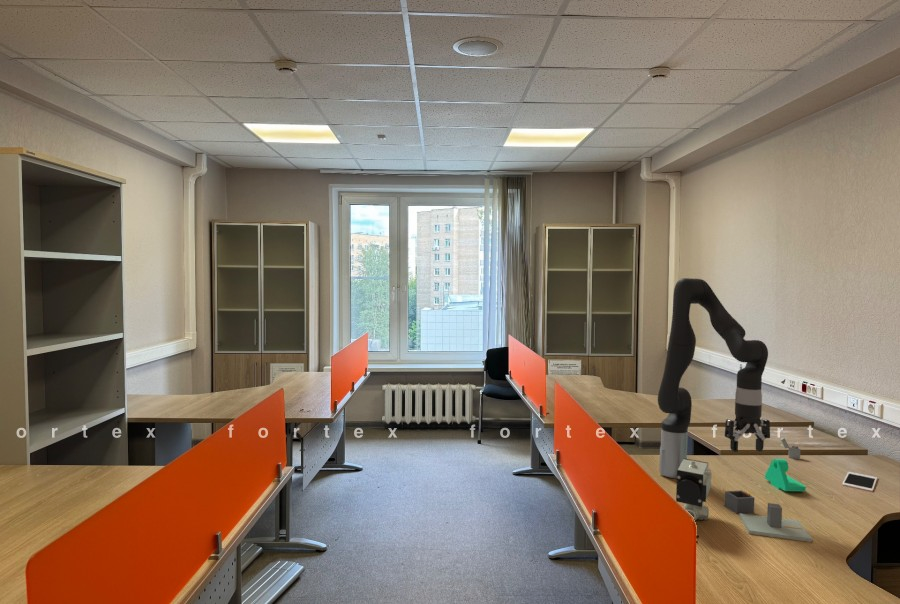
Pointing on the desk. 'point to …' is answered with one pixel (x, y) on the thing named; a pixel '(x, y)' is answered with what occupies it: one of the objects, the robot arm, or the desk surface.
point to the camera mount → (782, 477)
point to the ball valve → (694, 487)
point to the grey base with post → (775, 525)
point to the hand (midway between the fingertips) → (746, 451)
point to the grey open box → (739, 502)
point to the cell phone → (860, 481)
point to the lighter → (792, 450)
